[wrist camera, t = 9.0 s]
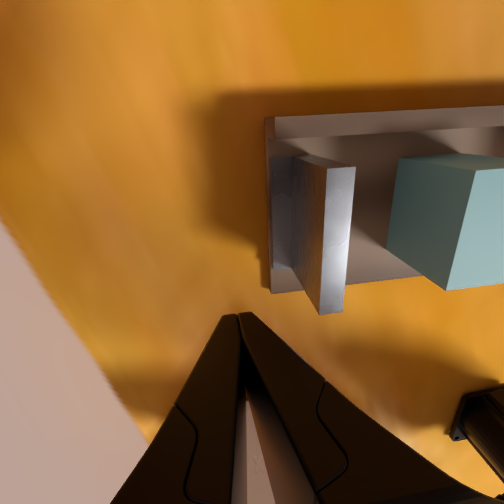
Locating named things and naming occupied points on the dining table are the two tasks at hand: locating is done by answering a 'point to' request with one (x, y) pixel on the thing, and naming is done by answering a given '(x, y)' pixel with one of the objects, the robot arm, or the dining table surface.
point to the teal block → (450, 218)
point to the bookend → (312, 224)
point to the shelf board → (377, 170)
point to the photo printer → (256, 467)
